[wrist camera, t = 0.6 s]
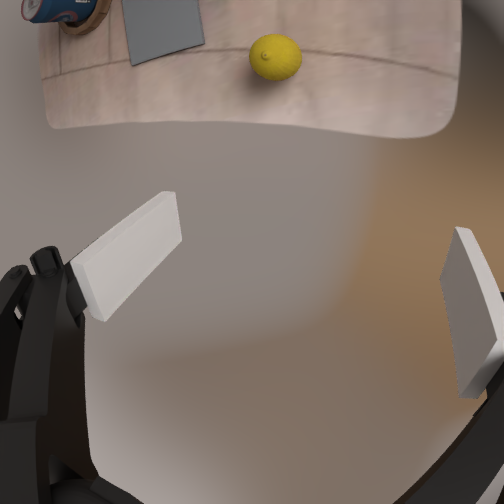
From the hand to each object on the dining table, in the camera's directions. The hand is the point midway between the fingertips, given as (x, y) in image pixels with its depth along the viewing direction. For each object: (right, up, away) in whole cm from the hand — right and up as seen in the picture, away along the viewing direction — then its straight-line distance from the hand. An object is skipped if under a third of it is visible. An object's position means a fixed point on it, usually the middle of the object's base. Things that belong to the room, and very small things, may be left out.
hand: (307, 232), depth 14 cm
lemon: (+2, +22, +19) cm, 30 cm away
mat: (-15, +32, +20) cm, 41 cm away
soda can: (-29, +40, +21) cm, 54 cm away
